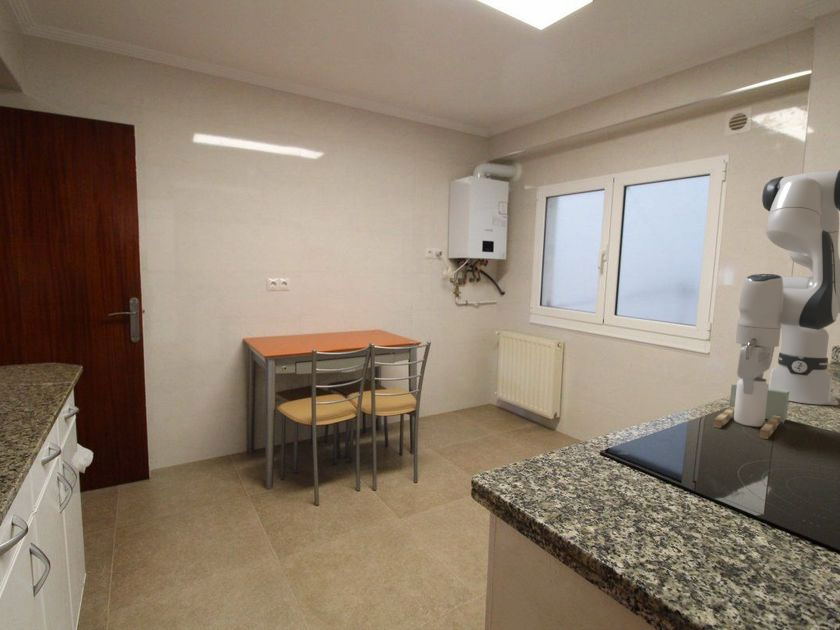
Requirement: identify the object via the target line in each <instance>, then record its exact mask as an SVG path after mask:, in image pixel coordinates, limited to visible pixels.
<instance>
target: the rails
mask: <svg viewBox="0 0 840 630" xmlns="http://www.w3.org/2000/svg"><path fill="white" fill-rule="evenodd" d="M734 410H735V407H730V406H729V407H728V408H726V409H725V410H724V411H723V412H722V413H720V414H718V415H717V416H716V417H714V418H713V423H712V427H713V428H716V429H721V428H722V427H724V426H725V425H726V424H727V423H729V420H730V419H731V418H732V419H734ZM780 418H781V417H780V416H775V415H773V416H772V417H771V418H770V419H769V420H767V421H766V422H765V423H764V425H763V426H762V427H760V430H759V438H761V439H765V440H768V439H769V438H770V437H771V435H772V434H773V433H774V432H775V431H776V430H777V429H778V427H779V426H780V425H781V423H780ZM732 419H731V420H732ZM731 420H730V421H731ZM779 424H780V425H779ZM778 425H779V426H778ZM777 426H778V427H777ZM774 430H775V431H774Z"/></svg>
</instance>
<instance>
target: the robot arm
mask: <svg viewBox="0 0 840 630" xmlns="http://www.w3.org/2000/svg"><path fill="white" fill-rule="evenodd" d="M761 202H762V206H763V208H764V209H765V210H767V211H768V212H769V213H768V217H767V221H766V227H765V230H766V231H765V232H766V236H767V238H768V240H769V241H770V242H771V243H772V244H774V245H775V246H777V247H779V248H781V249H783V250H785V251H789V256H790V259H791V260H792V261H793V263H796V264H798V265H799V266H802V267H805V268H807V269H808V270H810V271H811V272H812V276H791V275H790V276H781V275H779V274H773V273H759V274H758V273H757V274H756V273H755V274H751V275H749V276H747V277H745V279H744V281H743V284H742V289H741V293H740V297H739V304H738V305H739V306H738V307H739V308H738V309H739V319H738V322H737V325H736V326H737V327H736V336H735V342H736V344H740V351H739V357H738V364H737V370H736V371H737V372H736V374H737V377H739V378H740V377H742V378H743V385H744V389H743V392H744V393H745V394H752V393H753V389H754V387H753V383H754V379H755V378H756V377H759V378H763V377H764V373H765V372H767V371H768V370H770V367H771V365H772V361H773V356H774V352H775V348H778V347H779V346H780V339H781V349H780V352H779V354H778V357H777V360H778V361H777V363H778V364H777V366H775V367H773V368H772V369H771V371H770V377H769V383H768V387H771V388H777V389H783V390H789V400H788V402H794V403H800V404H808V405H827V406H828V405H829V406H839V401H838V400H837V399H836V398H835V397H834V395H833V394H832V393H833V388H832V383H833V377H832V376H831V375H830V374H829V373H828V372H827V369H828V365H829V357H827V356H828V355H827V354H828V346H829V338H830V337H829V336H830V335H829V332H828V331H827V330H826V329H825V328H826V327H828V326H831V325H832V324H833V323H835V322H836V321H837V318H838V315H839V314H840V253H839V235H840V169H829V170H828V169H827V170H826V169H825V170H815V171H810V172H804V173H798V174H793V175H789V176H783V175H781V176H778V177H776V178H772V179H770V180H769V181H768V182H767V183H765V184H764V187H763V190H762V193H761ZM763 379H764V378H763Z"/></svg>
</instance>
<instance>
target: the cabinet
mask: <svg viewBox="0 0 840 630" xmlns="http://www.w3.org/2000/svg"><path fill="white" fill-rule="evenodd" d="M737 382H738V381H735V382H733V383H732V384H731V388H730V398H729V399H730V400H729V407H735V399H736V389H737ZM788 407H789V390H783V389H777V388H771V387H769V386H768V394H767V404H766V413H765V419H768V420H767V421H769V419H770V418H771V417H772V416H773V415H775V416H780V417H781V418H780V422H782V423H781V424H784V423H785V422H786V421H785V420H787V415H788ZM784 421H785V422H784Z"/></svg>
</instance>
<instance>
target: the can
mask: <svg viewBox="0 0 840 630" xmlns="http://www.w3.org/2000/svg"><path fill="white" fill-rule="evenodd" d="M736 382H737V389H736V399H735V410H734V417H733V421H734V422H735V423H736V424H738V425H741V426H745V427H751V428H762V427H763V426H764V425H765V423H766V422H765V421H766V420H765V413H766V404H767V394H768V387H769V384H768V383H767V379H766V378H759V377H756V378H755V379H754V383H753V387H754V389H753V393H752V394H745V393H744V392H743V389H744V385H743V378H742V377H739V379H738V380H737V381H736Z"/></svg>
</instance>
